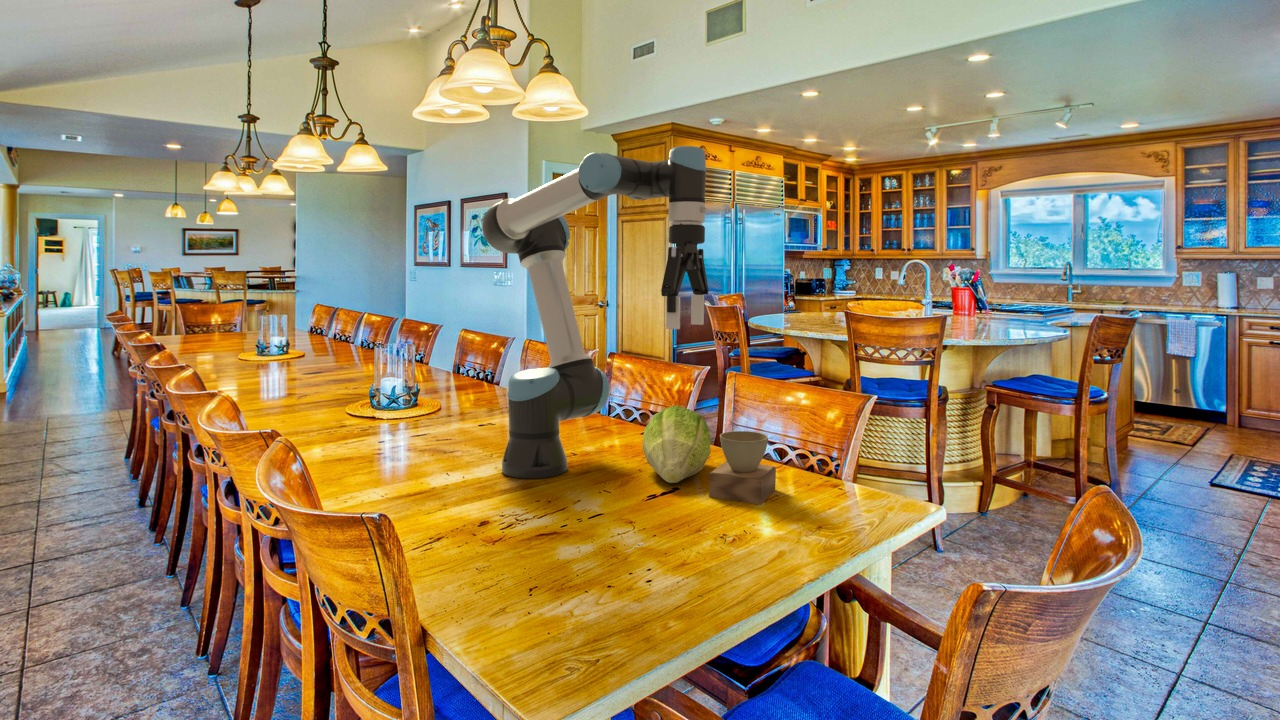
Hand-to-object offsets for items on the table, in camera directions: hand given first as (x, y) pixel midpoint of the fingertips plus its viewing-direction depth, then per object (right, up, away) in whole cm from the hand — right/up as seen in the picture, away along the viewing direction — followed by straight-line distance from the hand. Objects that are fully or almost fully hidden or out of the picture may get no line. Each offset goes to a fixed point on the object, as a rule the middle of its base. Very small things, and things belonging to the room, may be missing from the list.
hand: (685, 326), depth 148 cm
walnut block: (+12, -35, 0) cm, 37 cm away
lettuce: (-1, -34, +14) cm, 36 cm away
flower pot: (+12, -30, -1) cm, 32 cm away
